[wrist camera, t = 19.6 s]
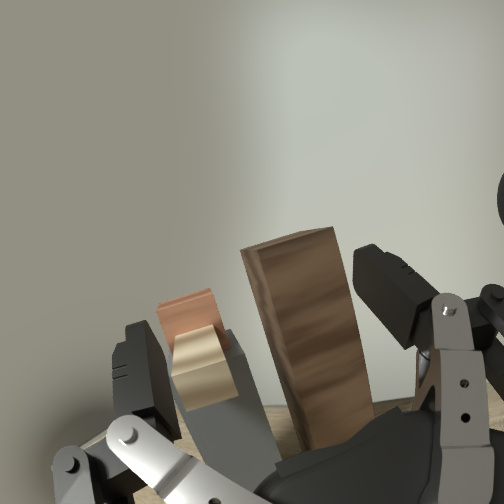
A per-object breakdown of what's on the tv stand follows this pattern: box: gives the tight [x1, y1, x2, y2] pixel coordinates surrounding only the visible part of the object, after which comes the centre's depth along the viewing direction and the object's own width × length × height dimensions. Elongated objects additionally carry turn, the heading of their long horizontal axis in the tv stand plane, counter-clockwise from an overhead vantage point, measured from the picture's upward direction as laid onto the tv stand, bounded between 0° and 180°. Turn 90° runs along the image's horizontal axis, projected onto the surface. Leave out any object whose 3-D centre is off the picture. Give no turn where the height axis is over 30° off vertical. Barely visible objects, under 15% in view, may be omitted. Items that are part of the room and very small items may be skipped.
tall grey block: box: [167, 329, 282, 493], centre depth 35 cm, size 10×8×23 cm
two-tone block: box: [156, 288, 239, 412], centre depth 29 cm, size 16×6×6 cm, turn 11°
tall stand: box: [240, 227, 375, 452], centre depth 37 cm, size 10×8×32 cm
